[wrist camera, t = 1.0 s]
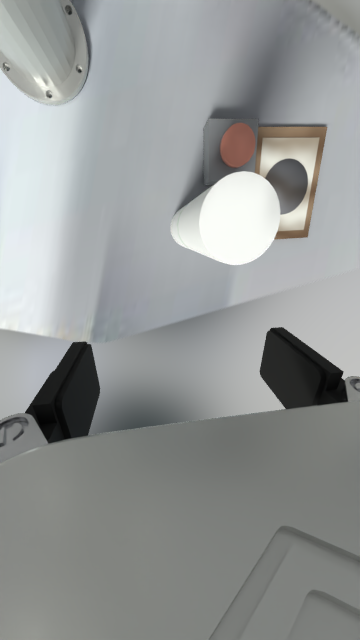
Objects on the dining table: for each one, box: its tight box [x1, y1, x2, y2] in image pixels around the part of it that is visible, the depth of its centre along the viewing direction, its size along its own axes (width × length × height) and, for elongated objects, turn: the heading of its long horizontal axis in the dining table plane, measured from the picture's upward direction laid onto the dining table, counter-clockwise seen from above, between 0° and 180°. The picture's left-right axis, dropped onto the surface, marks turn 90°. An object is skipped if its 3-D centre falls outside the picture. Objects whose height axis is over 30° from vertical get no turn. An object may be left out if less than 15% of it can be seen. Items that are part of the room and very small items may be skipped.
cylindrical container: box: [171, 171, 280, 265], centre depth 29 cm, size 7×7×25 cm
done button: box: [220, 123, 256, 168], centre depth 33 cm, size 5×5×4 cm
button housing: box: [203, 119, 259, 185], centre depth 35 cm, size 8×8×4 cm
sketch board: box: [255, 127, 327, 239], centre depth 40 cm, size 18×13×1 cm
